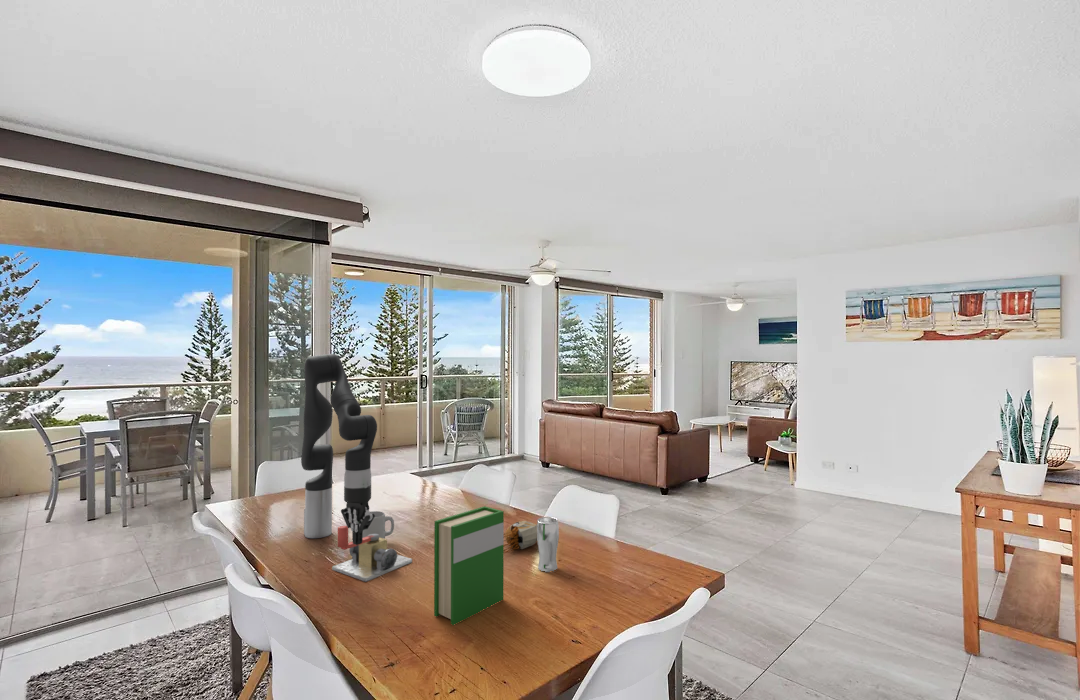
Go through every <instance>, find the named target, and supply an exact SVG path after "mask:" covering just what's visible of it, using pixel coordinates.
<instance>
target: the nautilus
mask: <svg viewBox="0 0 1080 700" xmlns="http://www.w3.org/2000/svg"><path fill="white" fill-rule="evenodd" d="M504 538H505V539H504V542H506V544H504V547H507V546H509V547H508V548H506V549H504V552H505V553H509V552H510V554H512V553H514V551H515V550H518V549H520V550H523V549H526V548H529V547H531V546H533V545H535V544H537V523H535V522H531V521H527V520H519V521H515V523H512V524H511V525H509V526H508V527H507V529H505V531H504Z"/></svg>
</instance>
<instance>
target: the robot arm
mask: <svg viewBox="0 0 1080 700" xmlns="http://www.w3.org/2000/svg"><path fill="white" fill-rule="evenodd" d="M334 381H335V382H336V383H335V385H334V388H333V390H332V393H331V394H330V401H329V400H328V398H326V397H325V395H323V394H322V393H321V391H320V390H319V388H318V385H319V384H324V383H325V384H326V383H331V382H334ZM304 387H305V388H304V389H305V396H304V409H303V438H302V439H303V441H302V447H301V448H302V449H301V455H300V458H301V460H300V463H301V468H302V469H303V470H304V471H309V472H310V471H322V472H321V473H320V474H318V475H317V476H314V477H312V478H309V479H307V480H306V482H305V486H304V488H305V491H304V493H305V494H304V496H305V498H304V499H305V501H304V502H305V503H304V505H305V506H304V510H303V535H304V537H305V538H307V539H321V538H326V537H329V536H331V534H333V532H332V531H333V528H332V527H333V464H334V463H333V462H334V449H333V446H332V445H331V444H327V443H325V444H316V443H317V442H318V441H319V439H321V438H322V437H323V436H324V434H326V432H328V431H329V429H330V428H331V426H332V423H333V411H334V413H335V414H336V416H337V421H338V432H339V434H338V435H339V436H340V437H341V439H343V440H345V441H349V442H351V441H359V440H360V441H359V443H358V444H357V445H356V446H354V447H351V448H348V449H347V450H346V451H345V457H344V458H345V459H344V463H345V464H344V467H345V468H344V478H343V480H344V481H343V491H344V492H343V495H344V496H343V501H344V502H345V503H346V507H344V508H343V509H340V512H341V515H342V517H343V520H344V522H345V526H347V527H348V529H350V531H351V535H352V536H351V537H352V540H351V541H353V544H355V545H358V544H361V543H362V540H363V530H365V529H368V527H369V526H370V524H371V522H372V521H373V519H374V517H375V515H374V514H371V513H370V512H371V511H370V506H369V502H370V500H371V499H372V470H371V465H372V464H371V455H372V449H373V446H374V441H375V438H376V437H377V436H376V435H377V431H378V423H377V420H376V418H375V417H374V416H373V415H371V414H364V415H363V414H361V413H362V408H361V406H360V404H359V402H358V400H357V399H356V396H355V395H354V392H352V389H351V386H350V383H349V380H348V377H347V374H346V371H345V368H344V365H343V363H342V361H341V358H340V357H339V356H338V355H337V354H335V353H327V354H326V353H325V354H320V355H319V354H318V355H313V356H309V357H307V358H306V359H305V362H304Z"/></svg>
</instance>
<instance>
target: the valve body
mask: <svg viewBox="0 0 1080 700" xmlns="http://www.w3.org/2000/svg"><path fill="white" fill-rule="evenodd" d="M349 555H350V556H351V559H349V560H346V561H344V562H340V563H337V564H336V565H333V566H332V567H331V568H332V569H331V570H332V571H335V572H338V573H341V574H343V575H346V576H349V577H351V578H353V579H357V580H360V581H362V582H363V583H365V582H369V581H371V580H374V579H375V578H378V577H380V576H383V575H385V574H387V573H389V572H392V571H395V570H397V569H399V568H402V567H404V566H406V565H409V564H411V563H413V558H410V557H406V556H403V555H400V554H398V552H397V551H396V549H394V548H389V547H388V539H386V538H385V539H384V538H380V537H379V540H377V541H369V542H366V543H363V544H360V545H357V546H354V547H352V548H349Z"/></svg>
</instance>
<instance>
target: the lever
mask: <svg viewBox="0 0 1080 700" xmlns="http://www.w3.org/2000/svg"><path fill="white" fill-rule="evenodd" d="M377 540H379V534H370V535H368V536H367V537H364V538H363V540H362V543H361V544H363V543H366V542H369V541H377ZM358 545H360V544H358ZM354 546H357V545H355V544H353V540H351V541H350V542H349V528H348V527H347V525H341V526H338V527H337V548H340V549H341V550H344V551H347V550H348V549H349V550H350V548H352V547H354Z"/></svg>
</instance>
